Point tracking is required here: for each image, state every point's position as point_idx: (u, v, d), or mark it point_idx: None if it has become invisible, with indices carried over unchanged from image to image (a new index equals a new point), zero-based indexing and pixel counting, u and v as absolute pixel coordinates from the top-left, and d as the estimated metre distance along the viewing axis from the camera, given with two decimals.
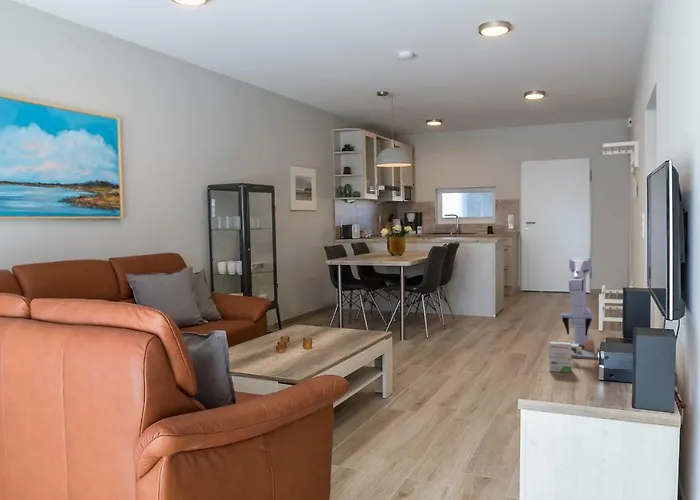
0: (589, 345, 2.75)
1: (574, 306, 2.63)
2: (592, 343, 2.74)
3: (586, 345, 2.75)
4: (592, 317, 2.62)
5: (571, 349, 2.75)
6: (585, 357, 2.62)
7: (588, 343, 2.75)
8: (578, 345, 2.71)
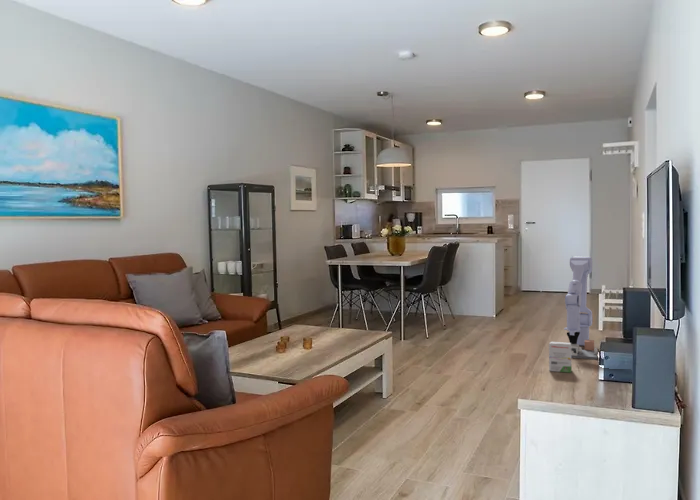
0: (589, 345, 2.75)
1: None
2: (592, 343, 2.74)
3: (586, 345, 2.75)
4: (569, 332, 2.70)
5: None
6: (585, 357, 2.62)
7: (588, 343, 2.75)
8: (578, 346, 2.70)
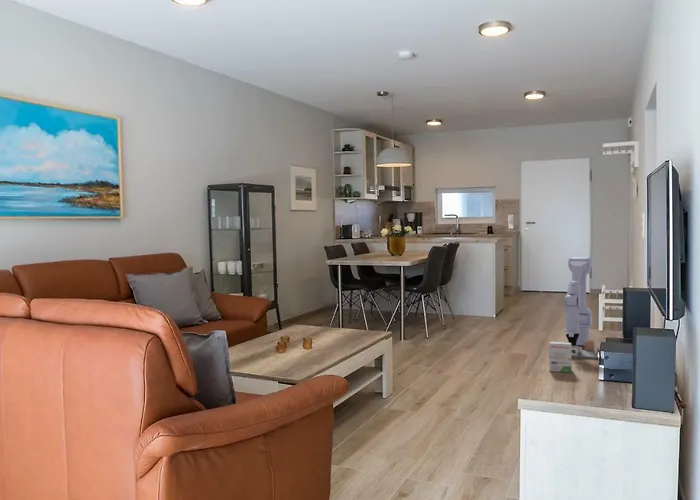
0: (589, 345, 2.75)
1: None
2: (592, 343, 2.74)
3: (586, 345, 2.75)
4: (569, 334, 2.66)
5: None
6: (585, 357, 2.62)
7: (588, 343, 2.75)
8: (577, 347, 2.67)
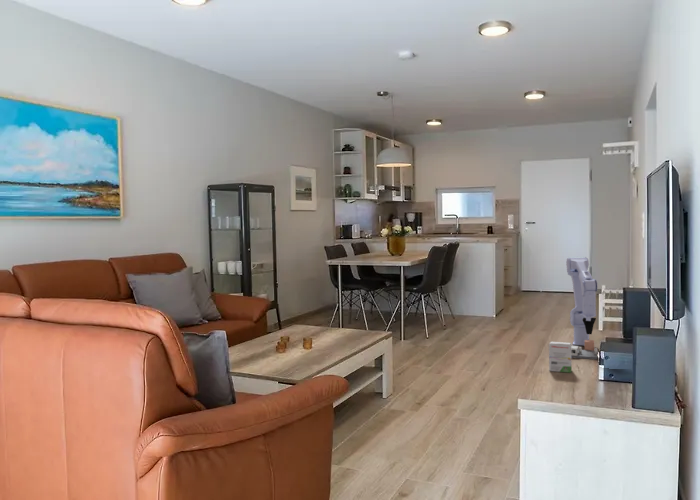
0: (589, 345, 2.75)
1: None
2: (592, 343, 2.74)
3: (586, 345, 2.75)
4: (586, 318, 2.70)
5: None
6: (585, 357, 2.62)
7: (588, 343, 2.75)
8: (577, 347, 2.67)
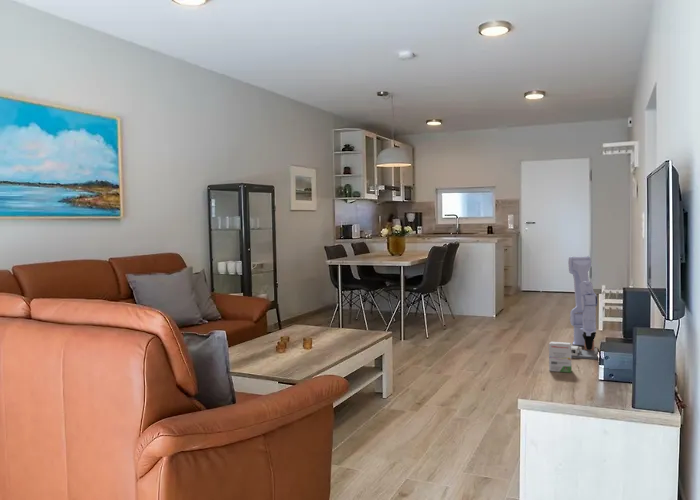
0: None
1: None
2: None
3: None
4: (586, 333, 2.70)
5: None
6: (585, 357, 2.62)
7: None
8: (577, 347, 2.67)
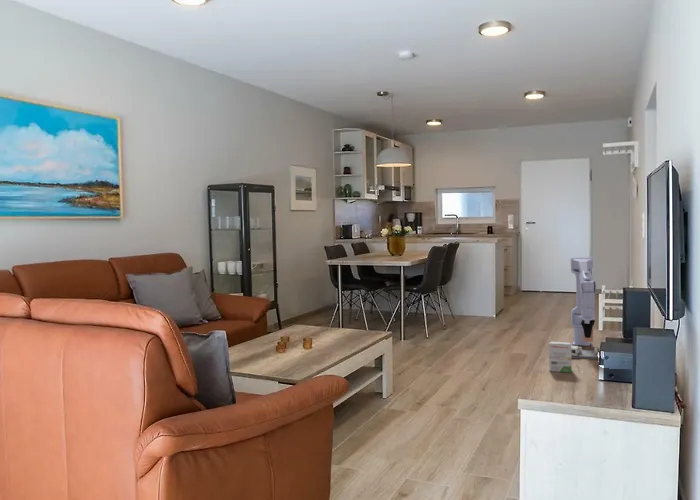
0: None
1: None
2: (591, 332, 2.64)
3: None
4: (584, 320, 2.60)
5: None
6: (585, 357, 2.62)
7: None
8: (577, 347, 2.67)
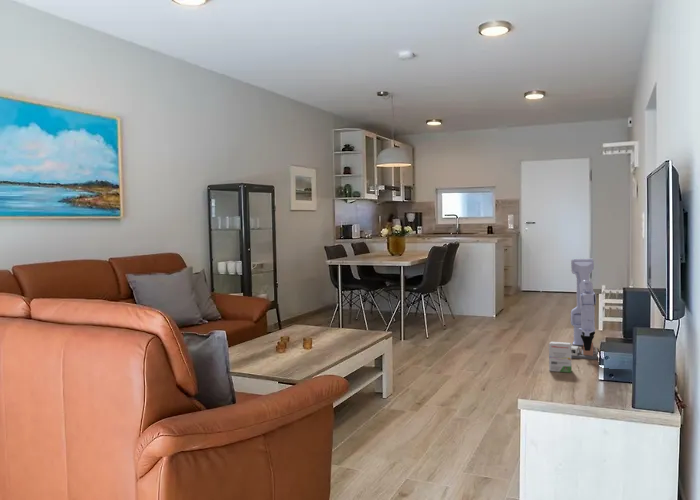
0: None
1: None
2: (591, 346, 2.64)
3: None
4: (584, 333, 2.60)
5: None
6: (585, 357, 2.62)
7: None
8: (577, 347, 2.67)
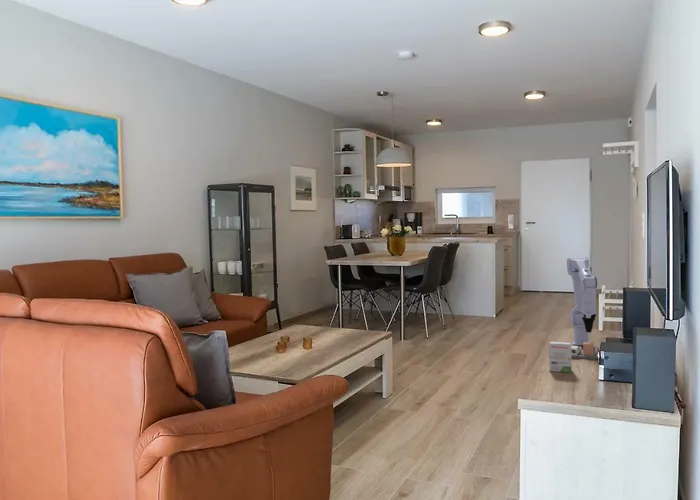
0: (588, 348, 2.65)
1: None
2: (591, 346, 2.64)
3: (585, 348, 2.65)
4: (586, 315, 2.69)
5: None
6: (585, 357, 2.62)
7: (587, 346, 2.65)
8: (577, 347, 2.67)
